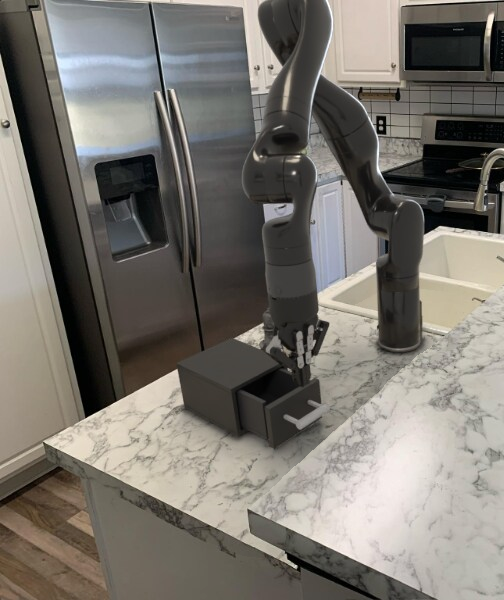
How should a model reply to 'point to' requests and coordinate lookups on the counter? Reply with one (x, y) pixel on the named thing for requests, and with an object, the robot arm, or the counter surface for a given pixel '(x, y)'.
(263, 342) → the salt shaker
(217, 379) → the small drawer cabinet
